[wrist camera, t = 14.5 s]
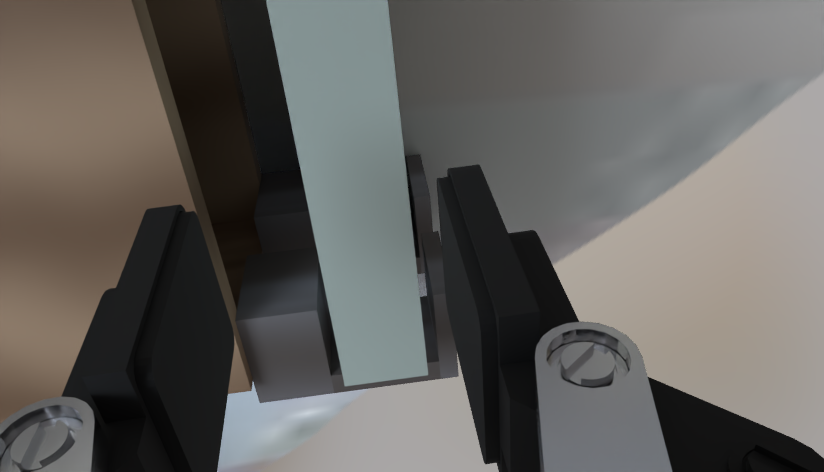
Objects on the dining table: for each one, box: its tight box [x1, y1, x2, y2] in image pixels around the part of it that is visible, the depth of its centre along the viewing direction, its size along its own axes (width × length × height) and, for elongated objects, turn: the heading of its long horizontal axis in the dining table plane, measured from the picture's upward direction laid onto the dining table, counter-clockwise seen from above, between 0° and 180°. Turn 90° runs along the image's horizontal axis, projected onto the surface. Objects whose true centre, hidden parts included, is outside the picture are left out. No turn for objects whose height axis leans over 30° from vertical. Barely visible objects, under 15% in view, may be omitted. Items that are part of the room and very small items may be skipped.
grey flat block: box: [266, 0, 428, 386], centre depth 21 cm, size 14×4×12 cm, turn 5°
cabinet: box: [0, 0, 458, 424], centre depth 22 cm, size 16×16×10 cm
